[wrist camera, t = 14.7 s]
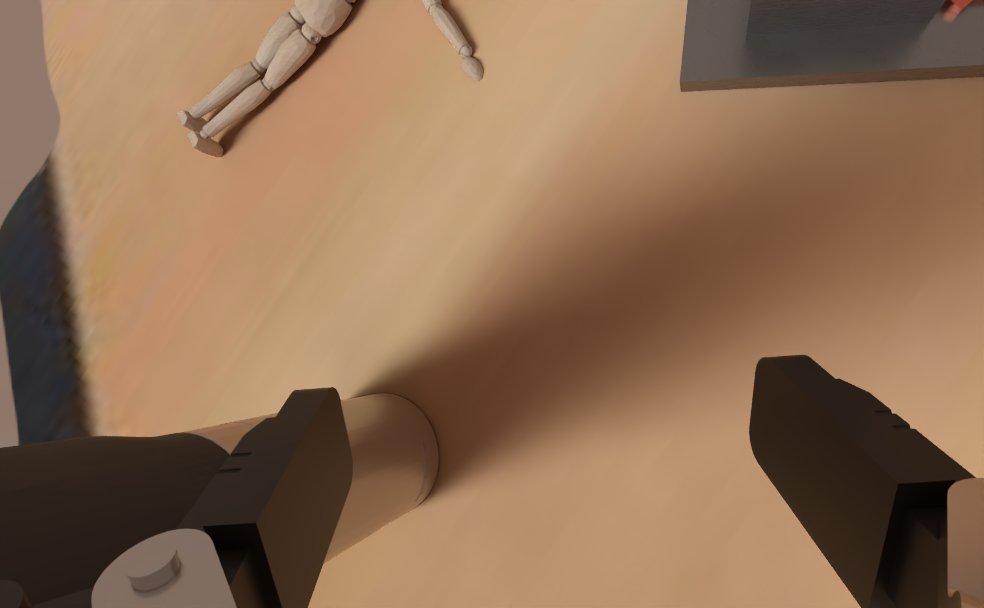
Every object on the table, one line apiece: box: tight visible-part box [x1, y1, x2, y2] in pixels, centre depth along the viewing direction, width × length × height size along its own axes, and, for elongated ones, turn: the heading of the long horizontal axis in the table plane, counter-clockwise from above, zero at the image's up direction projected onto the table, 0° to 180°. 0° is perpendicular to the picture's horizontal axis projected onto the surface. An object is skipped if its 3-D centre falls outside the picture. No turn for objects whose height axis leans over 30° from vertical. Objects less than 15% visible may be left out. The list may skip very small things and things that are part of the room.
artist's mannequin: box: [176, 0, 483, 157], centre depth 45 cm, size 28×4×30 cm
